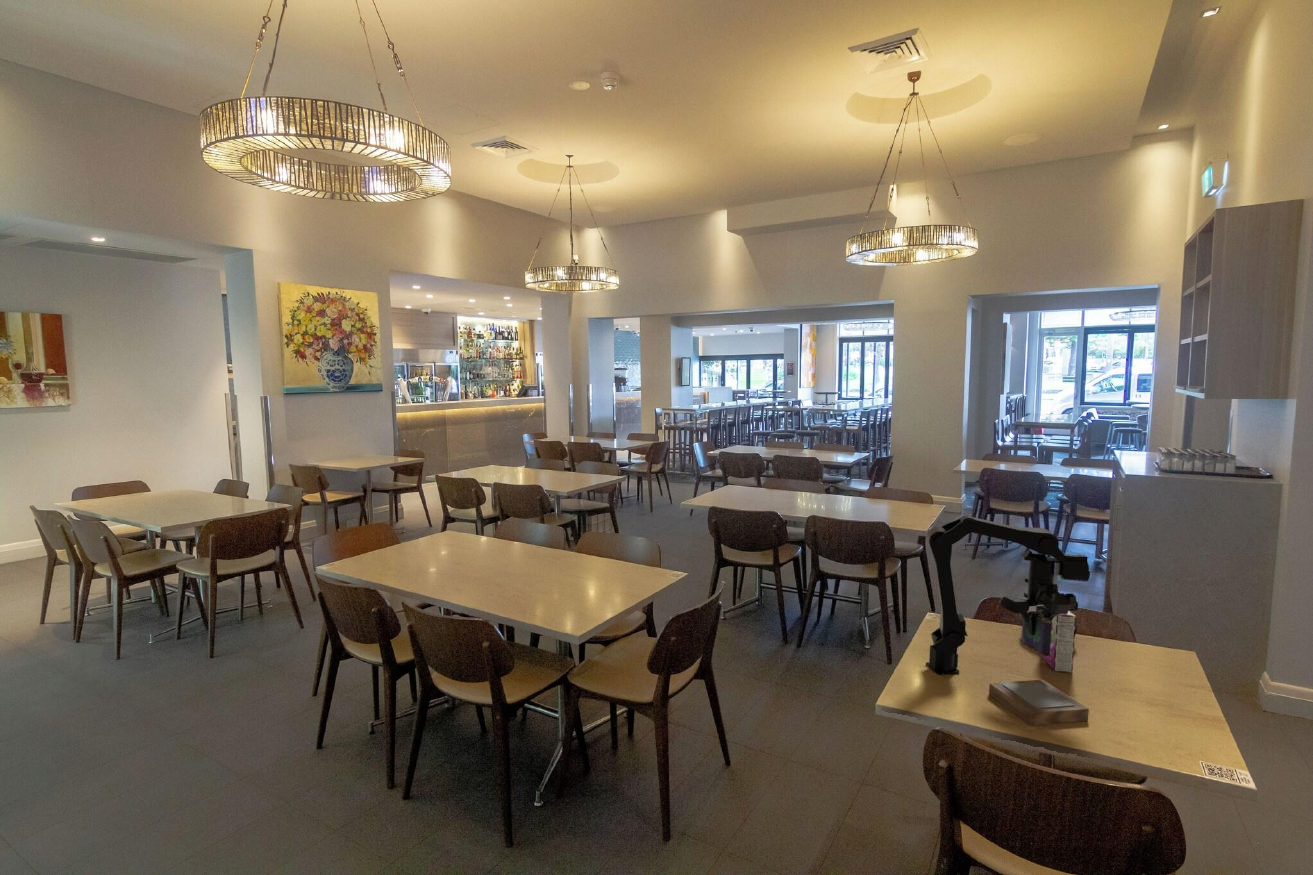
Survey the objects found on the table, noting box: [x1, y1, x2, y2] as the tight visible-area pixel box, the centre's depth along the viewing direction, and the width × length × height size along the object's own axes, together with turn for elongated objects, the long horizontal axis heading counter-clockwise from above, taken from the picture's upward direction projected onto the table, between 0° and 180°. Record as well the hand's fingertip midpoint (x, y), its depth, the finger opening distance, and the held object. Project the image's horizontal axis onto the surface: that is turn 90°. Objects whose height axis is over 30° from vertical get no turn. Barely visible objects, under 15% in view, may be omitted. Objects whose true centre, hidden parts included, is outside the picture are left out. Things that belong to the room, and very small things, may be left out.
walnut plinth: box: [988, 679, 1090, 726], centre depth 161 cm, size 15×15×3 cm
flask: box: [1020, 610, 1052, 656], centre depth 173 cm, size 9×3×11 cm, turn 10°
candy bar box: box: [1039, 611, 1077, 674], centre depth 184 cm, size 11×5×16 cm, turn 168°
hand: (1037, 634), depth 173 cm, fingers closed on flask, 3 cm apart
